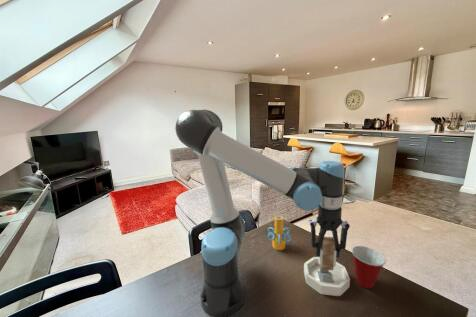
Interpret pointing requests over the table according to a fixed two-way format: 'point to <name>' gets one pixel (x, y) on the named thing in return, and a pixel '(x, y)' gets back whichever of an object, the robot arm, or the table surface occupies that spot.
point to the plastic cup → (367, 265)
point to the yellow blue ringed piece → (278, 234)
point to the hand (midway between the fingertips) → (326, 263)
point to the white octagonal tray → (326, 278)
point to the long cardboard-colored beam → (328, 253)
